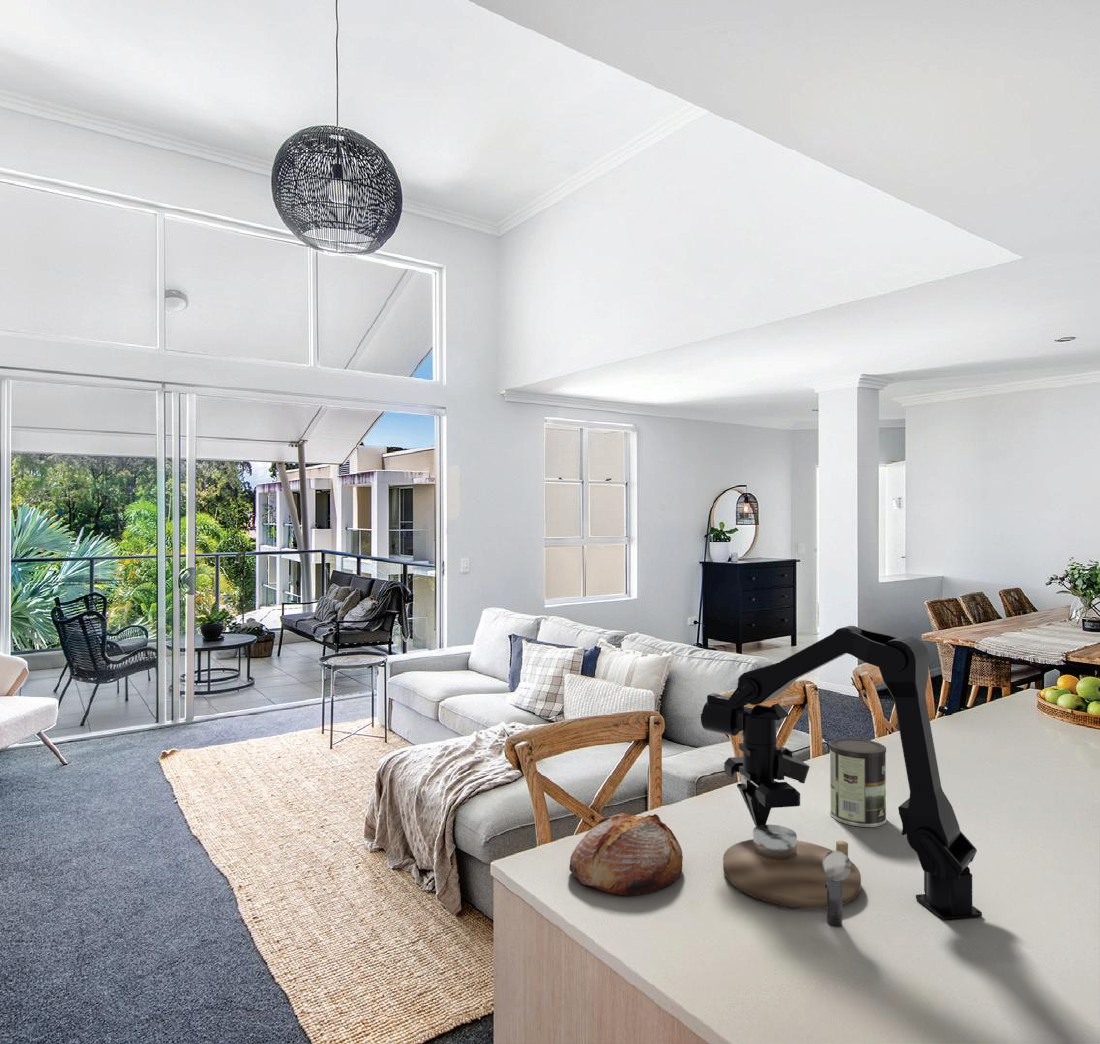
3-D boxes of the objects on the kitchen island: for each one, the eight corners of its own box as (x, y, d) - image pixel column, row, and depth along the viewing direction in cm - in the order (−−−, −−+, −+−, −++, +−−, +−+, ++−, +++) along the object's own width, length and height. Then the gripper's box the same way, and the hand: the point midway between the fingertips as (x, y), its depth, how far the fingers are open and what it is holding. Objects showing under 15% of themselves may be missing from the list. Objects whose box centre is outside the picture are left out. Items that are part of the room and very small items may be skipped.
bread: (705, 881, 121) (708, 821, 121) (614, 918, 109) (617, 852, 109) (636, 840, 134) (639, 786, 134) (548, 870, 123) (551, 810, 122)
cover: (804, 858, 122) (804, 840, 122) (764, 861, 121) (764, 842, 121) (784, 840, 129) (784, 823, 129) (746, 843, 128) (746, 825, 128)
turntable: (889, 902, 111) (889, 872, 111) (756, 913, 107) (756, 882, 107) (818, 843, 131) (817, 817, 131) (704, 850, 128) (704, 824, 128)
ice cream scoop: (851, 926, 105) (851, 852, 105) (825, 928, 105) (824, 853, 105) (839, 914, 108) (839, 842, 108) (814, 917, 108) (813, 844, 108)
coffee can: (879, 809, 149) (879, 739, 149) (892, 830, 139) (892, 754, 139) (825, 805, 151) (825, 736, 151) (834, 825, 141) (834, 751, 141)
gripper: (829, 754, 123) (830, 848, 123) (778, 724, 141) (779, 807, 141) (766, 757, 121) (766, 853, 121) (722, 727, 140) (723, 810, 139)
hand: (760, 829), depth 131 cm, fingers closed
